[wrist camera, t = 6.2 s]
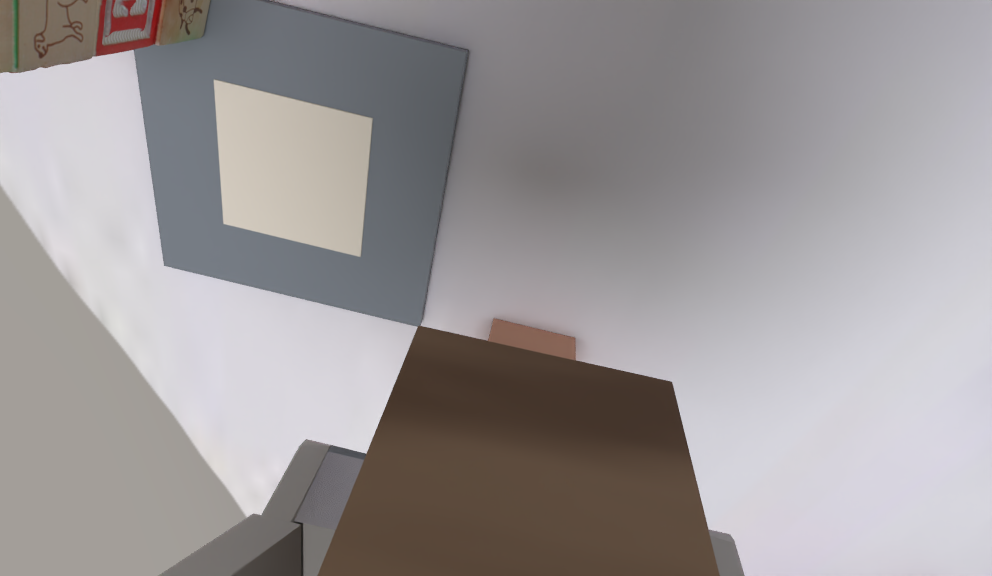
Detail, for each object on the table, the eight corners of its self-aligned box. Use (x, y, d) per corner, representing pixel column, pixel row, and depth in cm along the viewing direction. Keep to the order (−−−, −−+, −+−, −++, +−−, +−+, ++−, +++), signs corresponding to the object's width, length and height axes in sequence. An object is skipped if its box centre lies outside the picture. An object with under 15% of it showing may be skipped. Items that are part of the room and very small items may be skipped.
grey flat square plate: (132, -34, 22) (120, -34, 21) (468, 50, 22) (465, 52, 21) (171, 260, 29) (163, 266, 29) (422, 320, 29) (419, 328, 29)
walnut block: (418, 325, 10) (315, 580, 6) (671, 381, 10) (743, 673, 6) (395, 489, 13) (312, 745, 9) (597, 533, 13) (612, 811, 9)
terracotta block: (493, 317, 29) (482, 371, 25) (575, 337, 29) (576, 393, 25) (478, 378, 31) (465, 437, 28) (553, 396, 31) (551, 457, 28)
